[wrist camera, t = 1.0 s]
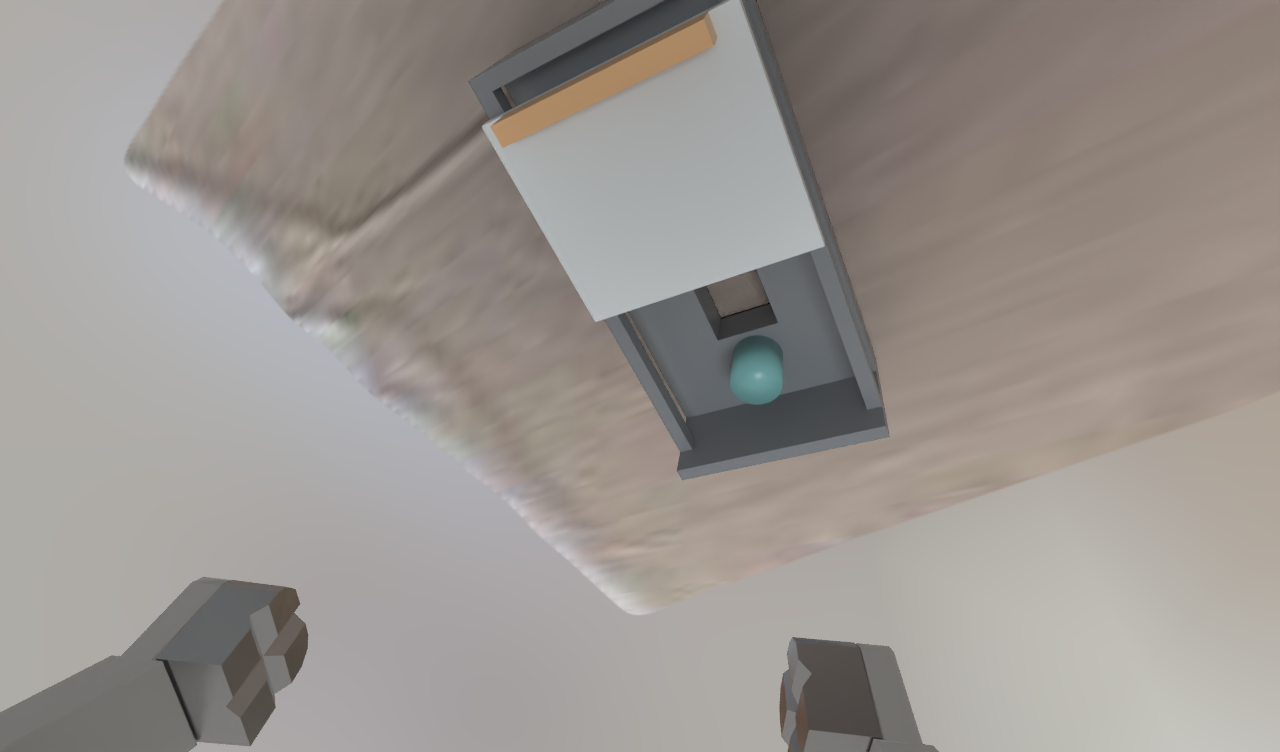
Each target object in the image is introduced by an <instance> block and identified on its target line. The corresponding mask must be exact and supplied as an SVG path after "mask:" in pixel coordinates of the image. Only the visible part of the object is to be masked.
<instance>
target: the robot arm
mask: <svg viewBox="0 0 1280 752" xmlns="http://www.w3.org/2000/svg"><path fill="white" fill-rule="evenodd" d="M299 605H300V602H299V599H298V596H297V592H296V590H295V589H293V588H289V587H282V586H274V585H267V584H259V583H251V582H244V581H236V580H225V579H216V578H207V577H202V578H200V579H198V580H196V581H194V582H192V583H191V584H190V585H189V586H188V587H187V588H186V589H185V590H184V591H183V592H182V593H181V594H180V595H179V596H178V597H177V599H175V600H174V601H173V603H172V604H171V605H170V606H169V607H168V608H167V609H166V610H165V611H164V612H163V613H162V614H161V615H160V616H159V617H158V618H157V619H156V620H155V621H154V622H153V623H152V624H151V625H150V626H149V628H148V629H147V630H146V631H145V632H144V633H143V634H142V635H141V636H140V637H139V638H138V639H137V640H136V641H135V642H134V643H133V644H132V645H131V646H130V647H129V648H128V649H127V650H126V651H125V652H124V653H123V655H122V656H110V657H108V658H106V659H104V660H102V661H100V662H98V663H96V664H94V665H92V666H90V667H88V668H86V669H84V670H82V671H80V672H78V673H77V674H75V675H73V676H71V677H69V678H67V679H65V680H63V681H61V682H59V683H57V684H55V685H53V686H51V687H49V688H47V689H45V690H43V691H41V692H39V693H37V694H35V695H33V696H32V697H30V698H28V699H26V700H24V701H22V702H20V703H18V704H16V705H14V706H12V707H10V708H8V709H6V710H4V711H2V712H0V752H189V751H190V750H191V749H192V748H194V747H195V746H196V745H197V743H196V742H207V743H219V744H230V745H242V746H251V744H252V743H253V741H254V740H255V738H256V737H257V735H258V734H259V732H260V730H261V729H262V727H263V726H264V725H265V723H266V722H267V720H268V718H269V717H270V715H271V714H272V712H273V711H274V709H275V696H274V694H275V693H277V692H278V691H280V690H281V689H283V688H284V687H286V686H287V685H289V684H291V683H292V681H293V680H294V678H295V677H296V675H297V673H298V672H299V670H300V668H301V667H302V664H303V661H304V658H305V655H306V652H307V649H308V632H307V628H306V624H305V623H304V622H303V621H302V620H301V619H300V618H299V617H298V616H297V615H296V614H295V613H294V612H295V610H296V609H297V608H298V606H299ZM787 656H788V665H789V670H787V671H786V672H785V673H783V677H782V683H781V690H780V725H781V734H782V738H783V739H784V741H785V742H786V743H787V744H788V746H789V747H788V752H939V751H938V750H937V749H936V748H935V747H934V746H932V745H925V744H922V741H921V737H920V734H919V731H918V728H917V724H916V721H915V718H914V715H913V712H912V708H911V705H910V702H909V699H908V696H907V693H906V689H905V686H904V683H903V680H902V677H901V673H900V670H899V667H898V664H897V661H896V657H895V654H894V652H893V651H892V649H891V648H890V647H889V646H878V645H869V644H858V643H857V644H855V643H851V642H840V641H829V640H817V639H806V638H795V637H793V638H792V639H791V641H790V643H789V648H788V653H787Z"/></svg>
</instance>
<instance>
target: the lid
mask: <svg viewBox="0 0 1280 752" xmlns="http://www.w3.org/2000/svg"><path fill="white" fill-rule="evenodd" d="M481 127H482V128H483V130H484V132H485V133H486V135H487V137H488V139H489V140H490V142H491V144H492V145H493V147H494V149H495V151H496V152H497V154H498V156H499V157H500V159H501V161H502V163H503V164H504V166H505V168H506V169H507V171H508V173H509V175H510V176H511V178H512V180H513V182H514V183H515V185H516V187H517V188H518V190H519V192H520V194H521V195H522V197H523V199H524V200H525V202H526V204H527V206H528V207H529V209H530V211H531V212H532V214H533V216H534V218H535V219H536V221H537V223H538V224H539V226H540V228H541V230H542V231H543V233H544V235H545V236H546V238H547V240H548V242H549V243H550V245H551V247H552V249H553V250H554V252H555V254H556V255H557V257H558V259H559V261H560V262H561V264H562V266H563V267H564V269H565V271H566V273H567V274H568V276H569V278H570V279H571V281H572V283H573V285H574V286H575V288H576V290H577V291H578V293H579V295H580V297H581V298H582V300H583V302H584V303H585V305H586V307H587V309H588V310H589V312H590V314H591V316H592V317H593V319H594V321H595V322H598V321H601V320H604V319H607V318H610V317H613V316H616V315H619V314H622V313H625V312H628V311H631V310H634V309H637V308H640V307H643V306H646V305H649V304H652V303H655V302H658V301H661V300H664V299H667V298H670V297H673V296H676V295H679V294H682V293H685V292H688V291H691V290H694V289H697V288H700V287H703V286H706V285H709V284H712V283H715V282H718V281H721V280H725V279H728V278H731V277H734V276H737V275H740V274H743V273H746V272H749V271H752V270H755V269H758V268H761V267H764V266H767V265H770V264H773V263H776V262H779V261H782V260H785V259H788V258H791V257H794V256H797V255H800V254H803V253H806V252H809V251H812V250H815V249H818V248H821V247H824V246H825V243H824V237H823V234H822V231H821V228H820V225H819V222H818V220H817V217H816V214H815V211H814V208H813V205H812V202H811V199H810V196H809V193H808V191H807V188H806V185H805V182H804V179H803V176H802V173H801V170H800V167H799V164H798V162H797V159H796V156H795V153H794V150H793V147H792V144H791V141H790V138H789V135H788V133H787V130H786V127H785V124H784V121H783V118H782V115H781V112H780V109H779V106H778V104H777V101H776V98H775V95H774V92H773V89H772V86H771V83H770V80H769V77H768V75H767V72H766V69H765V66H764V63H763V60H762V57H761V54H760V51H759V48H758V46H757V43H756V40H755V37H754V34H753V31H752V28H751V25H750V22H749V19H748V17H747V14H746V11H745V8H744V5H743V2H742V0H725V1H723V2H721V3H719V4H717V5H715V6H713V7H711V8H709V9H707V10H705V11H703V12H701V13H699V14H697V15H695V16H693V17H691V18H689V19H687V20H685V21H683V22H682V23H680V24H678V25H676V26H674V27H672V28H670V29H668V30H666V31H664V32H662V33H660V34H658V35H656V36H654V37H652V38H650V39H648V40H646V41H644V42H642V43H640V44H638V45H636V46H634V47H632V48H630V49H628V50H626V51H624V52H622V53H621V54H619V55H617V56H615V57H613V58H611V59H609V60H607V61H605V62H603V63H601V64H599V65H597V66H595V67H593V68H591V69H589V70H587V71H585V72H583V73H581V74H579V75H577V76H575V77H573V78H571V79H569V80H567V81H565V82H563V83H562V84H560V85H558V86H556V87H554V88H552V89H550V90H548V91H546V92H544V93H542V94H540V95H538V96H536V97H534V98H532V99H530V100H528V101H526V102H524V103H522V104H520V105H518V106H516V107H514V108H512V109H510V110H508V111H506V112H504V113H503V114H501V115H499V116H497V117H495V118H493V119H491V120H489V121H487V122H486V123H485V124H484V125H482V126H481Z"/></svg>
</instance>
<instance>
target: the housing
mask: <svg viewBox="0 0 1280 752" xmlns="http://www.w3.org/2000/svg"><path fill="white" fill-rule="evenodd" d="M723 1H725V0H607V1H605V2H603V3H601V4H599V5H597V6H596V7H594V8H592V9H590V10H588V11H587V12H585V13H583V14H581V15H579V16H577V17H576V18H574V19H572V20H570V21H568V22H567V23H565V24H563V25H561V26H559V27H557V28H556V29H554V30H552V31H550V32H548V33H547V34H545V35H543V36H541V37H539V38H537V39H536V40H534V41H532V42H530V43H528V44H527V45H525V46H523V47H521V48H519V49H517V50H516V51H514V52H512V53H510V54H509V55H507V56H506V57H504V58H503V59H501V60H500V61H498V62H497V63H495V64H494V65H492V66H491V67H489V68H488V69H486V70H485V71H483V72H481V73H480V74H478V75H477V76H475V77H474V78H472V79H471V80H469V81H468V82H469V84H470V86H471V87H472V89H473V91H474V93H475V94H476V96H477V98H478V100H479V101H480V103H481V105H482V107H483V108H484V110H485V112H486V114H487V115H488V117H489V119H490V120H491V119H493V118H495V117H497V116H499V115H501V114H503V113H504V112H506V111H508V110H510V109H512V107H511V105H510V103H509V102H508V100H507V98H506V96H505V94H504V93H503V91H502V89H501V87H502V86H503V85H505V87H506V88H507V90H508V92H509V94H510V96H511V98H512V99H513V101H514V103H515V105H516V106H518V105H520V104H522V103H524V102H526V101H528V100H530V99H532V98H534V97H536V96H538V95H540V94H542V93H544V92H546V91H548V90H550V89H552V88H554V87H556V86H558V85H560V84H562V83H563V82H565V81H567V80H569V79H571V78H573V77H575V76H577V75H579V74H581V73H583V72H585V71H587V70H589V69H591V68H593V67H595V66H597V65H599V64H601V63H603V62H605V61H607V60H609V59H611V58H613V57H615V56H617V55H619V54H621V53H622V52H624V51H626V50H628V49H630V48H632V47H634V46H636V45H638V44H640V43H642V42H644V41H646V40H648V39H650V38H652V37H654V36H656V35H658V34H660V33H662V32H664V31H666V30H668V29H670V28H672V27H674V26H676V25H678V24H680V23H682V22H683V21H685V20H687V19H689V18H691V17H693V16H695V15H697V14H699V13H701V12H703V11H705V10H707V9H709V8H711V7H713V6H715V5H717V4H719V3H721V2H723ZM742 2H743V5H744V8H745V11H746V14H747V17H748V19H749V22H750V25H751V28H752V31H753V34H754V37H755V40H756V43H757V46H758V48H759V51H760V54H761V57H762V60H763V63H764V66H765V69H766V72H767V75H768V77H769V80H770V83H771V86H772V89H773V92H774V95H775V98H776V101H777V104H778V106H779V109H780V112H781V115H782V118H783V121H784V124H785V127H786V130H787V133H788V135H789V138H790V141H791V144H792V147H793V150H794V153H795V156H796V159H797V162H798V164H799V167H800V170H801V173H802V176H803V179H804V182H805V185H806V188H807V191H808V193H809V196H810V199H811V202H812V205H813V208H814V211H815V214H816V217H817V220H818V222H819V225H820V228H821V231H822V234H823V237H824V243H825V246H824V247H821V248H818V249H815V250H812V251H809V252H806V253H803V254H800V255H797V256H794V257H791V258H788V259H785V260H782V261H779V262H776V263H773V264H770V265H767V266H764V267H761V268H758V269H756V270H757V273H758V275H759V278H760V280H761V283H762V285H763V287H764V290H765V292H766V295H767V297H768V299H769V302H770V304H768V305H765V306H761V307H758V308H755V309H752V310H748V311H745V312H742V313H739V314H735V315H732V316H729V317H726V318H722V319H721V318H720V316H719V314H718V312H717V309H716V307H715V305H714V303H713V301H712V299H711V296H710V294H709V292H708V290H707V288H706V286H703V287H700V288H697V289H694V290H691V291H688V292H685V293H682V294H679V295H676V296H673V297H670V298H667V299H664V300H661V301H658V302H655V303H652V304H649V305H646V306H643V307H640V308H637V309H634V310H631V311H628V312H629V314H630V315H631V317H632V319H633V321H634V323H635V325H636V326H637V328H638V330H639V332H640V334H641V336H642V337H643V339H644V341H645V343H646V345H647V347H648V348H649V350H650V352H651V354H652V356H653V358H654V359H655V361H656V363H657V365H658V367H659V369H660V370H661V372H662V374H663V376H664V378H665V379H666V381H667V383H668V385H669V387H670V389H671V390H672V392H673V394H674V396H675V398H676V400H677V401H678V403H679V405H680V407H681V409H682V411H683V412H684V414H685V416H686V418H687V419H686V423H685V421H684V420H683V418H682V416H681V414H680V412H679V411H678V409H677V407H676V405H675V403H674V401H673V400H672V398H671V396H670V394H669V392H668V391H667V389H666V387H665V385H664V383H663V381H662V380H661V378H660V376H659V374H658V372H657V371H656V369H655V367H654V365H653V363H652V361H651V360H650V358H649V356H648V354H647V352H646V351H645V349H644V347H643V345H642V343H641V341H640V340H639V338H638V336H637V334H636V332H635V331H634V329H633V327H632V325H631V323H630V322H629V320H628V318H627V316H626V314H625V313H622V314H619V315H616V316H613V317H610V318H607V319H604V320H605V322H606V323H607V325H608V327H609V329H610V330H611V332H612V334H613V336H614V337H615V339H616V341H617V343H618V344H619V346H620V348H621V350H622V351H623V353H624V355H625V357H626V358H627V360H628V362H629V364H630V365H631V367H632V369H633V370H634V372H635V374H636V376H637V377H638V379H639V381H640V383H641V384H642V386H643V388H644V390H645V391H646V393H647V395H648V397H649V398H650V400H651V402H652V404H653V405H654V407H655V409H656V411H657V412H658V414H659V416H660V418H661V419H662V421H663V423H664V425H665V426H666V428H667V430H668V432H669V433H670V435H671V437H672V439H673V440H674V442H675V444H676V446H677V447H678V449H679V451H680V457H679V462H678V467H677V472H678V474H679V475H680V477H681V479H682V480H685V479H690V478H695V477H700V476H704V475H709V474H714V473H719V472H724V471H728V470H733V469H738V468H743V467H748V466H752V465H757V464H762V463H767V462H772V461H776V460H781V459H786V458H791V457H796V456H800V455H805V454H810V453H815V452H820V451H824V450H829V449H834V448H839V447H844V446H848V445H853V444H858V443H863V442H868V441H872V440H877V439H882V438H887V437H890V436H889V431H888V425H887V419H886V414H885V408H884V402H883V397H882V391H881V385H880V380H879V374H878V368H877V363H876V357H875V354H874V351H873V348H872V345H871V343H870V340H869V337H868V334H867V331H866V328H865V325H864V322H863V319H862V316H861V313H860V310H859V307H858V304H857V301H856V298H855V295H854V292H853V289H852V286H851V283H850V280H849V277H848V274H847V271H846V268H845V265H844V262H843V259H842V256H841V253H840V250H839V247H838V244H837V241H836V238H835V235H834V232H833V229H832V226H831V223H830V220H829V217H828V214H827V211H826V208H825V205H824V202H823V199H822V196H821V193H820V190H819V187H818V184H817V181H816V178H815V175H814V172H813V169H812V166H811V163H810V160H809V157H808V154H807V151H806V148H805V145H804V142H803V139H802V136H801V133H800V130H799V127H798V124H797V121H796V118H795V116H794V113H793V110H792V107H791V104H790V101H789V98H788V95H787V92H786V89H785V86H784V83H783V80H782V77H781V74H780V71H779V68H778V65H777V62H776V59H775V56H774V53H773V50H772V47H771V44H770V41H769V38H768V35H767V32H766V29H765V26H764V23H763V20H762V17H761V14H760V11H759V8H758V5H757V2H756V0H742Z"/></svg>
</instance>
